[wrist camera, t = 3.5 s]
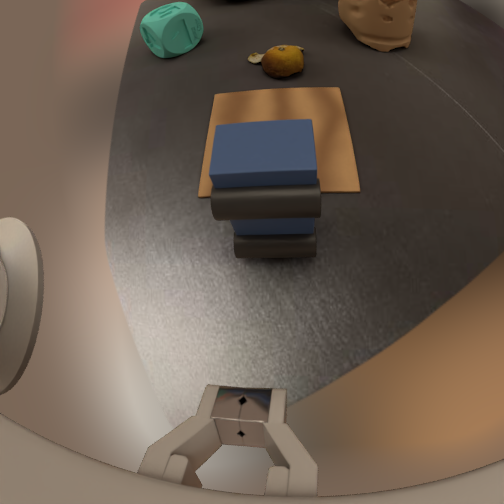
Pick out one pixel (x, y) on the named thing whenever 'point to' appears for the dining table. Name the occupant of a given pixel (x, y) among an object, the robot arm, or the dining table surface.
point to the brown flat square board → (288, 108)
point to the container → (379, 21)
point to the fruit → (280, 60)
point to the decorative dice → (172, 29)
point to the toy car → (267, 186)
